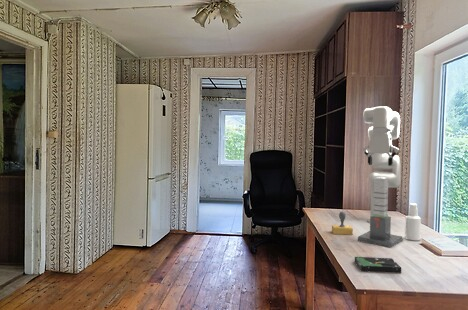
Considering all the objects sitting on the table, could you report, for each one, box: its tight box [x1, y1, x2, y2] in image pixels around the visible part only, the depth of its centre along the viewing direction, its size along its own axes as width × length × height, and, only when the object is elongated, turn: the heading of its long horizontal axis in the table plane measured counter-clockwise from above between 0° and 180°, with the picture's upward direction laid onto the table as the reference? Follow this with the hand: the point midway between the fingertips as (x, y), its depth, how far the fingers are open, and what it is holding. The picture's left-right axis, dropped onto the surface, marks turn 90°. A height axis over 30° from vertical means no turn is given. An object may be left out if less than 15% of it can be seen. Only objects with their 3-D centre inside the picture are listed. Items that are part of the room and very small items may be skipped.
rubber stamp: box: [331, 211, 354, 236], centre depth 178 cm, size 10×6×12 cm, turn 84°
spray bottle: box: [405, 202, 422, 241], centre depth 168 cm, size 7×7×18 cm
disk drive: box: [354, 256, 402, 274], centre depth 129 cm, size 10×3×15 cm
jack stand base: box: [357, 215, 403, 248], centre depth 165 cm, size 16×16×12 cm
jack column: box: [373, 177, 389, 219], centre depth 164 cm, size 5×5×22 cm
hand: (380, 165), depth 166 cm, fingers open, 9 cm apart
